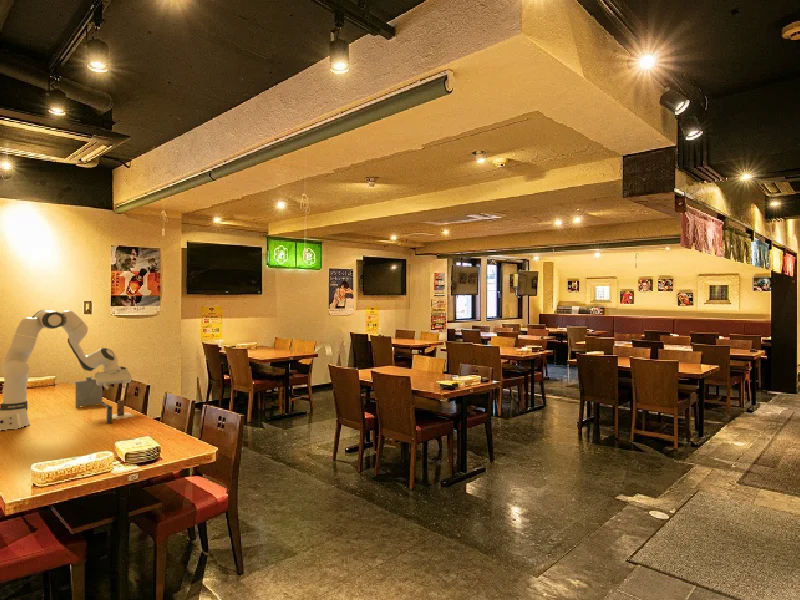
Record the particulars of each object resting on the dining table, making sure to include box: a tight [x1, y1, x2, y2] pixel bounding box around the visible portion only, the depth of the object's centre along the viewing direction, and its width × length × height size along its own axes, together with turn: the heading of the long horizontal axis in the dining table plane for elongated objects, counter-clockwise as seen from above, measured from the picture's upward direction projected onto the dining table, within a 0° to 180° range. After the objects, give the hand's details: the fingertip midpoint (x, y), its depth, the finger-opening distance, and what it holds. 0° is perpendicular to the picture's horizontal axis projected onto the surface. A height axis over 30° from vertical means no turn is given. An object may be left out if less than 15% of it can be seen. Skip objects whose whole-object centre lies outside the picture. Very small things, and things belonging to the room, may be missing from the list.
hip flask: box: [75, 376, 103, 408], centre depth 356 cm, size 16×4×20 cm, turn 130°
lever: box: [100, 401, 113, 425], centre depth 310 cm, size 2×18×10 cm, turn 42°
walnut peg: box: [116, 399, 125, 416], centre depth 321 cm, size 4×4×9 cm
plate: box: [112, 411, 135, 421], centre depth 321 cm, size 12×12×1 cm
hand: (115, 388), depth 329 cm, fingers open, 8 cm apart
